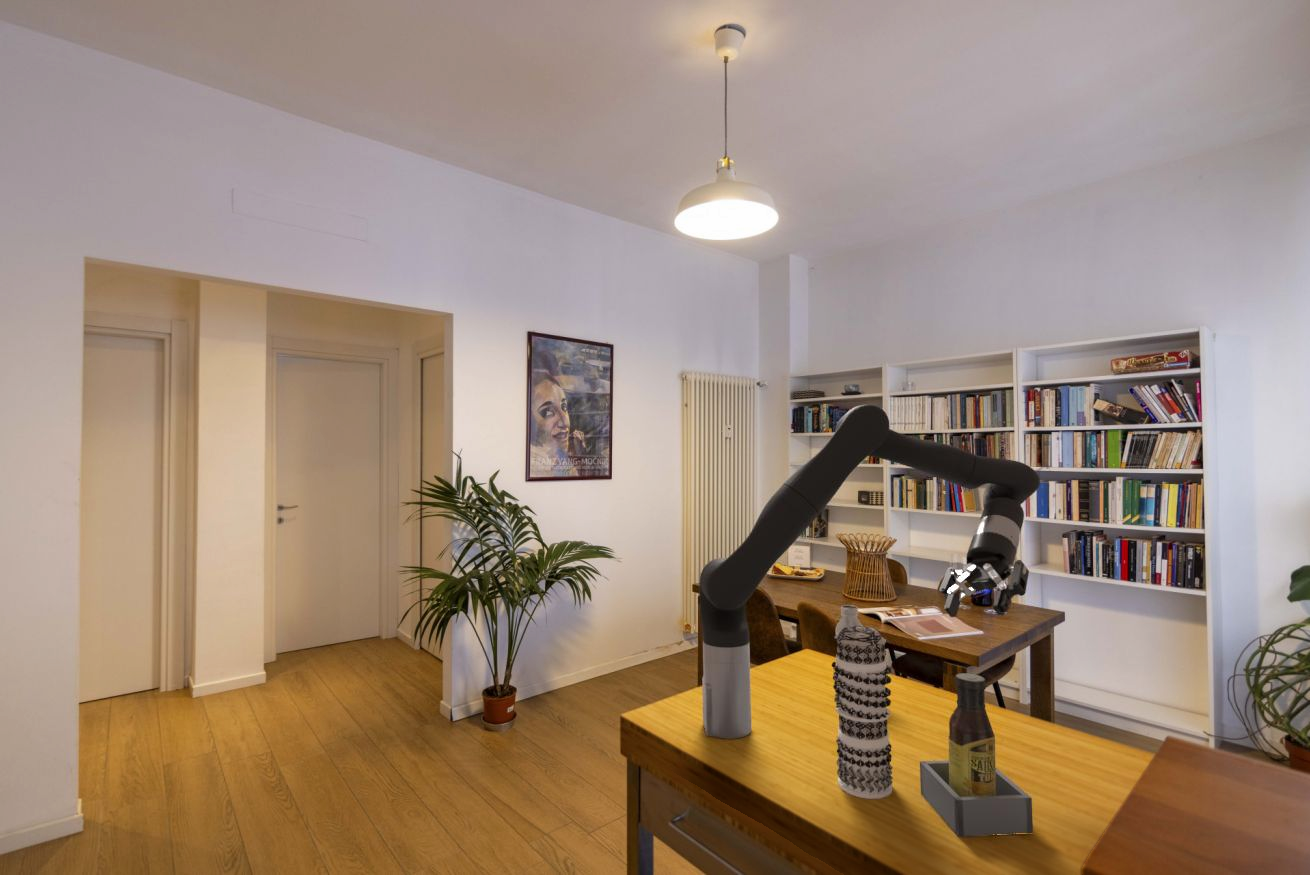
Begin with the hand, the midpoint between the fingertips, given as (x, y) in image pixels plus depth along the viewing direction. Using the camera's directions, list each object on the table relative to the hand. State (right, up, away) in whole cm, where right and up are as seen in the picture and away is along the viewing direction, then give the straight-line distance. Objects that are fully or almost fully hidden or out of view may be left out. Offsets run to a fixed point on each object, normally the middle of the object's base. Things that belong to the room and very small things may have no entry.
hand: (973, 613), depth 108 cm
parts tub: (-7, -26, -14) cm, 30 cm away
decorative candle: (-20, -27, -5) cm, 34 cm away
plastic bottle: (-10, -28, +33) cm, 45 cm away
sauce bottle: (-7, -26, -14) cm, 30 cm away
